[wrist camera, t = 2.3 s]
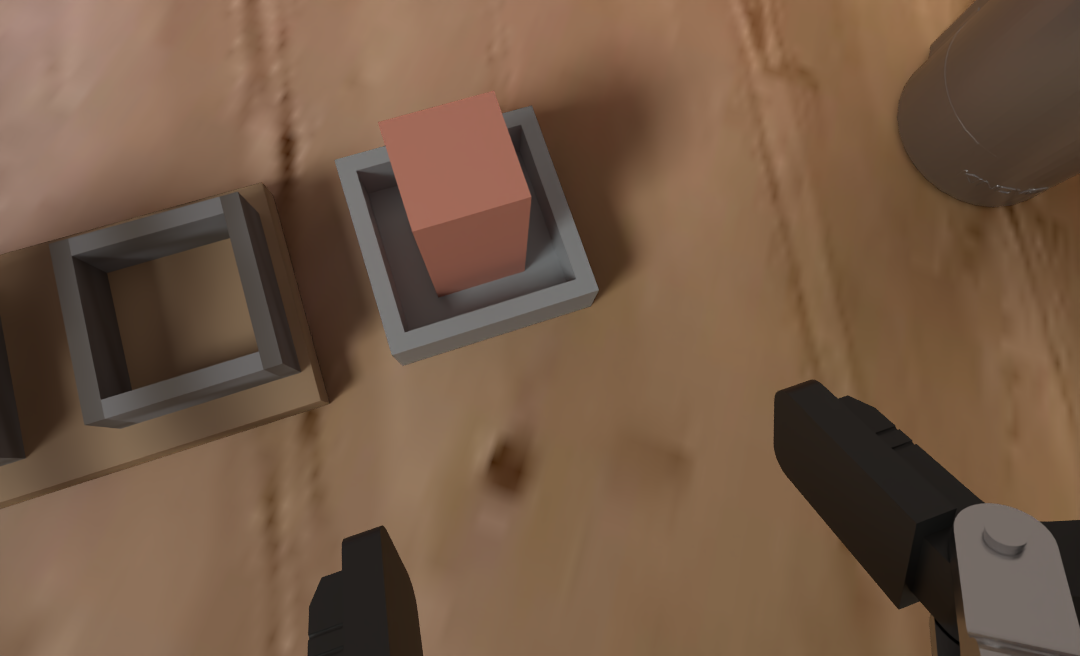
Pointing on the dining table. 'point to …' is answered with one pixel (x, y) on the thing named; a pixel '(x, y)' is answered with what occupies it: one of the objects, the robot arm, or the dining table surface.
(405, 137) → the block
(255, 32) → the dining table surface
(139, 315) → the dark grey double holder
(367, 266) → the box
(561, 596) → the dining table surface
